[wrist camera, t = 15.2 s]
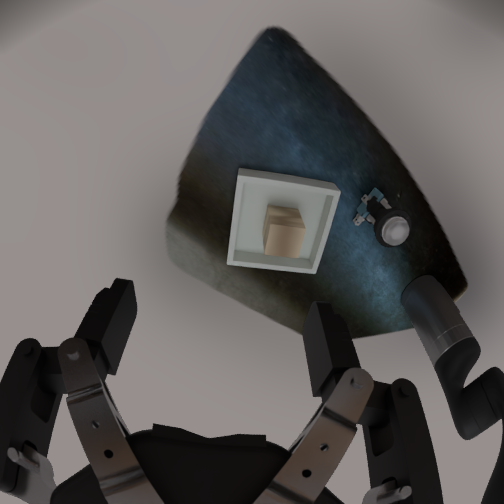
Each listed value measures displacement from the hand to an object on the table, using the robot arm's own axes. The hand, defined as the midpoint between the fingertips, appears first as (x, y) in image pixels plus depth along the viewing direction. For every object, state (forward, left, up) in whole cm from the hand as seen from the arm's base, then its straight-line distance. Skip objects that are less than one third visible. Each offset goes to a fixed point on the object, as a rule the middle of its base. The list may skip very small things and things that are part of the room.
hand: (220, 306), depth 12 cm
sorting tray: (-7, +9, -28) cm, 30 cm away
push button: (-20, +4, -28) cm, 35 cm away
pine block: (-7, +9, -27) cm, 29 cm away
